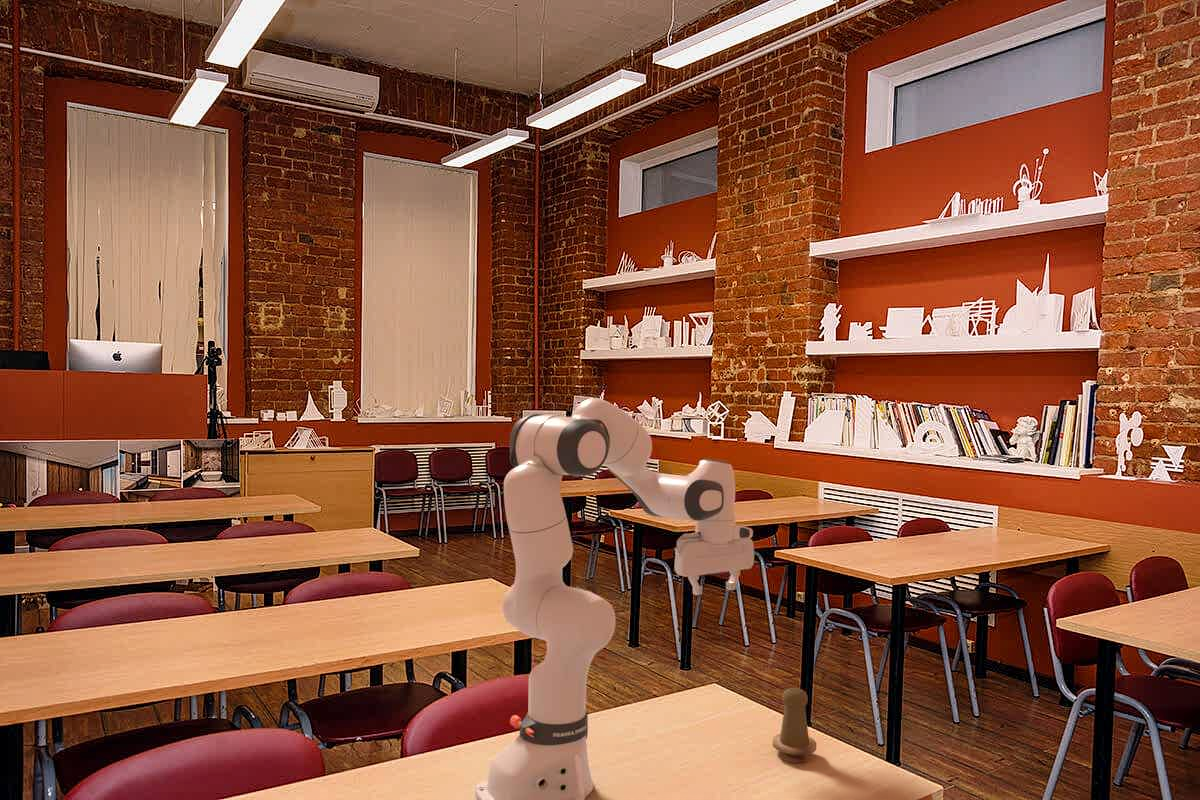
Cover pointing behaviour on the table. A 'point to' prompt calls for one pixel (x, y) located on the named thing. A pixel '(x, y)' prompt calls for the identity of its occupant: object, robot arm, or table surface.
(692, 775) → the table surface
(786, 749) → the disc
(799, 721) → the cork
